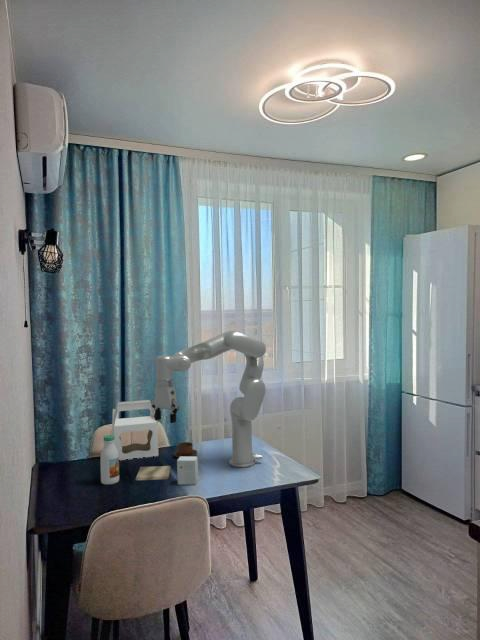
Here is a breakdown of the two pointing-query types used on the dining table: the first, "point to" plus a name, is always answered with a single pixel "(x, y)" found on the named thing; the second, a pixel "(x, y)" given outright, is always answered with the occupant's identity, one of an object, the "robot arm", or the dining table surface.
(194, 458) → the small box
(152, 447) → the gable box
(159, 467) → the oak board
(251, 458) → the robot arm
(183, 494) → the dining table surface
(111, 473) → the milk bottle
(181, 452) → the cup and saucer
